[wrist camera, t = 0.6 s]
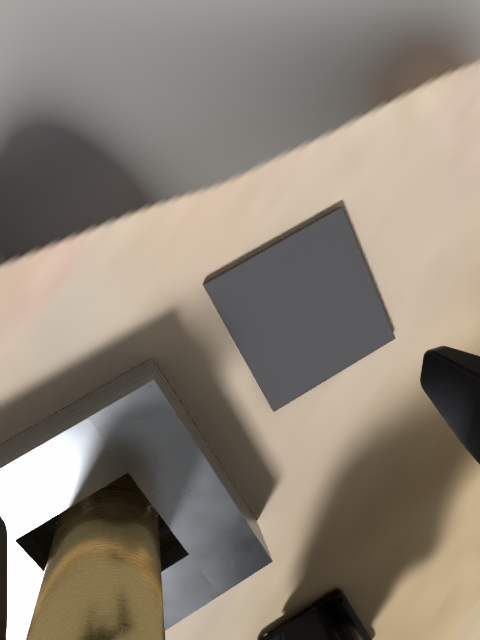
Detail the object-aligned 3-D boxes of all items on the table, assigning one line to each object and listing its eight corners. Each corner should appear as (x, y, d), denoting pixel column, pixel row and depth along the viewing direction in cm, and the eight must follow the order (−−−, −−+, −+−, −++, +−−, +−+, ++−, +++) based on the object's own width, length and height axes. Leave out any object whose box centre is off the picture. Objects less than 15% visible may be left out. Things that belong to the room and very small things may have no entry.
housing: (257, 521, 24) (272, 561, 21) (74, 636, 23) (65, 694, 20) (152, 357, 21) (154, 379, 18) (-71, 485, 20) (-107, 530, 17)
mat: (391, 336, 24) (395, 338, 23) (271, 408, 23) (274, 411, 22) (338, 207, 21) (342, 207, 21) (202, 284, 20) (203, 285, 20)
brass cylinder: (173, 512, 23) (194, 703, 14) (96, 559, 22) (65, 789, 13) (126, 448, 21) (116, 615, 12) (43, 497, 21) (-31, 709, 12)
